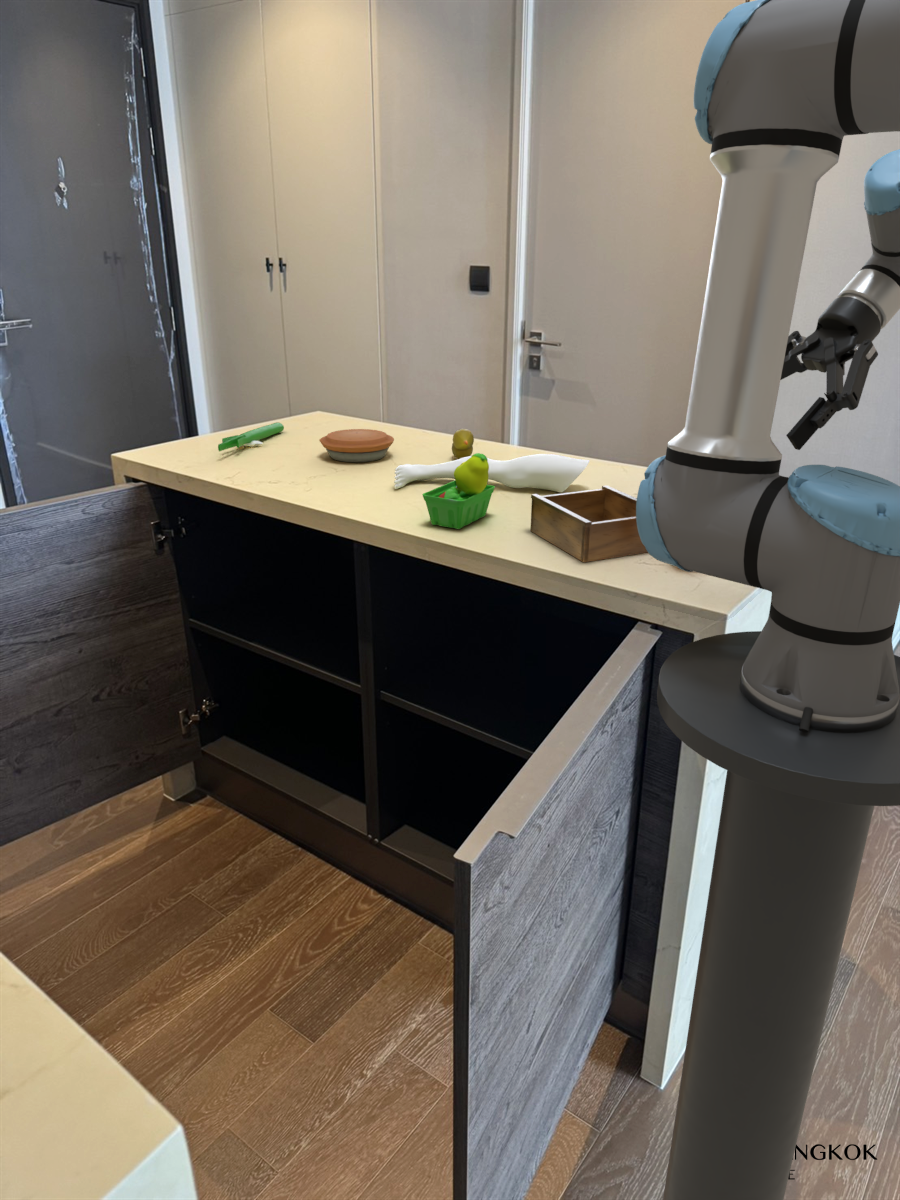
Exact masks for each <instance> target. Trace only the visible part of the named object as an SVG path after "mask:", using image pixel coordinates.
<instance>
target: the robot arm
mask: <svg viewBox="0 0 900 1200" xmlns="http://www.w3.org/2000/svg"><path fill="white" fill-rule="evenodd" d="M697 67H698V68H697V71H696V76H695V82H694V88H693V109H694V110H696V112H695V113H696V114H695V116H694V123H695V126H696V127H695V128H696V129H697V132H698V135H699V136H700V138H701V139H702V140H703V141H704V142H705V143H707V144H708V145H711V147H710V155H709V161H710V162H711V164H712V165H713V167H714V168H715V169H716V171H717V172H718V174H719V175H720V177H721V179H722V183H721V190H720V195H719V196H720V197H719V202H718V209H717V216H716V223H715V227H714V234H713V241H712V246H711V253H710V254H711V255H710V261H709V267H708V272H707V273H708V274H707V281H706V288H705V293H704V299H703V300H704V301H703V307H702V313H701V314H702V315H701V320H700V326H699V333H698V338H697V346H696V352H695V358H694V366H693V370H692V371H693V372H692V377H691V378H692V379H691V385H690V390H689V391H690V392H689V396H688V397H689V398H688V404H687V411H686V418H685V424H684V427H683V428H682V430H681V431H680V432H679V433H678V434H676V435H675V436H674V437H672V438H671V439H670V440H669V441H668V442H667V445H666V450H665V451H666V452H665V455H662V456H659V457H657V458H655V459H654V460H652V462H651V463H650V464H648V466H647V467H646V469H645V470H644V473H643V474H644V479H642V480H641V481H640V482H639V486H638V490H637V495H636V498H637V502H636V522H637V528H638V533H639V536H640V539H641V542H642V543H643V545H644V546H645V548H646V550H647V551H648V552H647V554H649V556H651V557H652V558H654V559H655V560H657V561H659V562H661V563H664V564H667V565H671V566H674V567H676V568H678V569H679V570H681V571H684V572H687V573H692V572H695V573H699V574H702V575H706V576H710V577H715V578H717V579H722V580H726V581H728V582H729V581H730V582H734V583H737V584H742V585H745V586H748V587H749V586H750V587H753V588H757V589H761V590H764V591H768V592H769V593H770V592H771V595H770V596H771V597H770V605H769V612H768V618H767V621H766V622H765V624H764V626H763V628H762V629H761V630H760V631H761V633H760V635H759V637H758V638H757V640H756V642H755V644H754V646H753V647H752V649H751V650H750V652H749V654H748V655H747V657H746V660H745V662H744V664H743V666H742V672H741V679H740V688H741V691H742V693H743V694H744V696H745V697H746V698H747V699H748V700H749V701H750V702H751V703H752V704H753V705H755V706H756V707H757V708H759V709H760V710H762V711H764V712H765V713H767V714H769V715H771V716H773V717H775V718H778V719H780V720H783V721H785V722H788V723H791V724H794V725H798V726H800V727H799V730H800V731H801V732H805V733H807V732H808V731H809V728H810V729H815V730H821V731H828V732H842V733H852V732H864V731H870V730H874V729H878V728H880V727H883V726H885V725H887V724H888V723H890V722H891V721H892V720H893V719H894V717H895V715H896V712H897V708H898V704H899V699H900V694H899V685H898V679H897V672H896V666H895V659H894V655H895V654H894V648H893V635H894V630H895V625H896V621H897V617H898V613H899V609H900V485H898V484H897V483H895V482H893V481H890V480H888V479H885V478H883V477H881V476H878V475H875V474H872V473H869V472H865V471H862V470H858V469H853V468H850V467H845V466H838V465H837V466H830V465H827V464H806V465H805V464H804V465H801V466H798V467H797V468H794V470H793V471H792V473H791V474H790V475H789V476H784V475H780V469H781V465H782V458H783V454H782V453H781V451H780V450H779V448H778V446H776V444H775V443H774V441H773V440H772V437H771V433H772V429H773V428H772V427H773V423H774V417H775V411H776V406H777V401H778V395H779V391H780V385H781V381H782V380H784V379H786V378H788V377H790V376H792V375H793V374H796V373H799V374H802V373H804V372H806V371H819V372H820V373H824V374H825V373H826V392H824V393H823V394H824V396H825V397H822V396H819V397H818V398H817V399H816V400H815V401H814V403H812V405H811V406H810V407H809V408H808V409H807V411H806V412H805V413H804V414H803V415H802V417H801V418H800V419H798V421H797V422H796V423H795V424H794V426H793V427H792V428H791V429H790V430H789V431H788V433H787V434H786V438H787V439H788V440H789V442H790V443H791V445H792V446H793V448H794V450H797V451H800V450H801V449H802V448H803V447H804V446H805V445H806V443H807V442H808V441H809V440H810V439H811V438H812V437H813V436H814V434H816V432H817V431H818V429H822V428H823V427H825V426H826V424H827V423H828V422H829V421H830V420H831V419H832V418H833V416H834V415H835V414H836V413H837V412H840V411H842V410H843V409H848V410H849V411H853V410H856V409H857V408H858V406H859V404H860V401H861V398H862V394H863V390H864V388H865V386H866V385H865V384H866V381H867V378H868V374H869V371H870V368H871V365H873V363H874V361H875V360H876V359H877V357H878V356H879V352H878V351H877V348H876V346H875V345H874V343H873V341H874V340H875V339H876V338H877V337H878V336H879V334H880V333H881V330H882V329H884V328H885V327H886V326H887V325H888V323H889V322H890V321H891V320H892V319H893V318H894V316H896V314H897V313H898V312H899V311H900V148H899V149H896V150H893V151H890V152H888V153H886V154H884V155H882V156H881V157H880V158H878V159H876V160H875V162H873V164H871V166H870V167H869V168H868V170H867V171H866V173H865V176H864V179H863V195H864V196H863V197H864V202H863V207H864V211H865V214H866V219H867V225H868V230H869V236H870V242H871V243H870V244H871V249H872V254H871V256H870V258H869V259H868V260H866V262H865V264H864V265H863V266H862V267H861V268H860V270H859V271H858V272H857V273H855V275H853V277H852V278H851V279H850V280H849V281H848V283H847V284H845V286H844V287H843V289H841V291H840V292H839V293H838V295H837V297H836V298H834V299H833V300H832V301H831V302H830V304H829V305H828V306H827V307H826V309H825V310H824V311H823V312H822V313H821V314H820V316H819V317H818V319H817V323H816V329H815V330H814V332H812V333H810V334H809V335H808V336H803V335H801V333H800V331H799V330H794V331H793V332H791V333H790V330H791V326H792V321H793V320H792V319H793V314H794V309H795V304H796V298H797V293H798V287H799V282H800V277H801V271H802V266H803V260H804V255H805V250H806V246H807V245H806V244H807V239H808V233H809V227H810V224H811V223H810V222H811V218H812V211H813V207H814V201H815V196H816V191H817V190H816V189H817V185H818V182H819V181H820V179H821V178H822V177H824V176H825V174H826V173H828V172H830V170H831V169H832V168H833V167H834V166H836V165H837V164H838V163H839V159H840V156H841V155H840V154H841V150H842V144H843V140H844V137H846V136H855V135H857V136H859V135H867V134H876V133H892V132H900V0H751V1H747V2H744V3H740V4H738V5H736V6H735V7H733V8H732V9H730V10H729V11H727V13H726V14H725V15H724V16H723V18H722V19H721V20H720V21H719V22H717V24H716V25H715V27H714V28H713V30H712V32H711V33H710V36H709V37H708V39H707V41H706V43H705V46H704V48H703V51H702V53H701V57H700V60H699V63H698V66H697ZM800 355H801V356H800ZM799 356H800V358H799ZM800 359H801V360H800ZM850 360H851V363H850V364H849V368H848V372H847V374H846V373H845V372H846V371H845V368H846V367H845V365H846V362H849V361H850ZM845 375H846V377H845V380H844V376H845ZM825 398H826V399H825Z"/></svg>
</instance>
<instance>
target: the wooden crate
mask: <svg viewBox="0 0 900 1200" xmlns="http://www.w3.org/2000/svg"><path fill="white" fill-rule="evenodd" d="M530 498H531V508H530V509H531V510H530V511H531V512H530V532H531V533H533V534H535V535H537V536H538V537H540V538H541V539H543V540H545V541H547V542H548V543H550V544H552V545H554V546H555V547H557V548H559V549H560V550H562V551H564V552H566V553H567V554H568V555H570V556H572V557H574V558H575V559H577V560H578V561H581V563H589V562H595V561H601V560H607V559H608V560H609V559H615V558H619V557H626V556H633V555H634V556H635V555H640V554H645V553H647V554H648V551H647V550H646V548H645V546H644V545H643V543H642V542H641V539H640V536H639V533H638V528H637V522H636V502H637V497H635V496H633V495H630V494H628V493H626V492H623V491H622V490H619V489H616V488H615V487H612V486H610V485H608V484H607V485H601V488H596V489H587V490H577V491H571V492H562V493H554V494H546V495H539V494H538V493H532V494H530Z"/></svg>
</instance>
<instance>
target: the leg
mask: <svg viewBox="0 0 900 1200" xmlns="http://www.w3.org/2000/svg"><path fill="white" fill-rule="evenodd" d="M471 457H472V455H471V456H468V457H464V458H460V459H458V458H457V459H455V460H450V461H445V462H441V463H436V464H435V463H434V464H419V463H416V464H415V463H414V464H410V463H405V464H399V465H398V466H396V468H395V469H394V475H395V476H394V479H395V480H394V481H393V483H394V486H393V487H394V489H395V490H397V489H400V488H403V487H404V486H406V485H407V484H409V483H412V482H415V481H419V482H423V481H424V482H425V481H429V480H436V479H437V480H439V479H449V480H455V477H454V471H455V469H456V468H457V467H458V466H460V464H462V463H463V462H465V461H467V460H468V459H469V458H471ZM487 459H488V460H487V462H488V464H489V470H488V481H489V480H490V481H493V482H496V483H500V484H502V485H503V486H506V487H509V488H514V489H521V488H522V489H523V488H532V489H538V490H547V491H552V492H557V493H558V494H561V493H564V492H565V491H566V490H567V489H568V488H569V487H570V486H571V485H572V484H573V483H574V482H575V481H576V479H577V478H578V477H579V476H580V475H581V474H582V473H583V472H584V470H585V469H586V468H587V467H588V465H589V463H590V462H591V461H590V459H582V458H574V457H571V456H570V457H569V456H565V455H561V454H553V453H535V454H529V455H523V456H519V457H515V458H512V459H507V460H499V459H492V458H489V457H487Z"/></svg>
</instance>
